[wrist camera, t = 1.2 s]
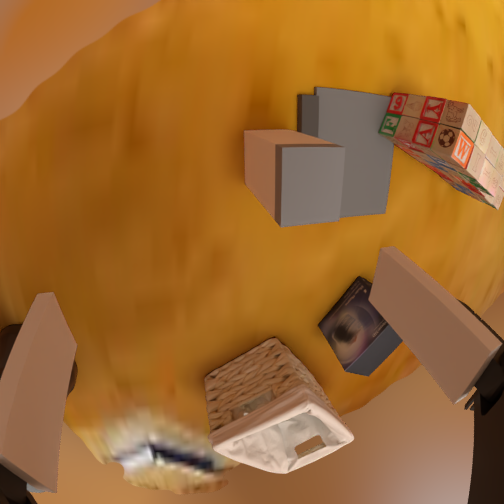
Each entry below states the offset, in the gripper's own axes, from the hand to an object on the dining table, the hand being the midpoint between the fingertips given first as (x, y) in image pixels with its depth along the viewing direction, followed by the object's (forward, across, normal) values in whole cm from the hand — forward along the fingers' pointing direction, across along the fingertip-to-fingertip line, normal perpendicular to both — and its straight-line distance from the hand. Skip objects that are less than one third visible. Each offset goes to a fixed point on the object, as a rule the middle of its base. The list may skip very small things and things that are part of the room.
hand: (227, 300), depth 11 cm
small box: (+23, +22, -23) cm, 40 cm away
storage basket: (+23, +10, -38) cm, 46 cm away
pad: (+23, +19, +1) cm, 29 cm away
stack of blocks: (+22, +33, +3) cm, 40 cm away
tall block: (+23, +8, +1) cm, 24 cm away
